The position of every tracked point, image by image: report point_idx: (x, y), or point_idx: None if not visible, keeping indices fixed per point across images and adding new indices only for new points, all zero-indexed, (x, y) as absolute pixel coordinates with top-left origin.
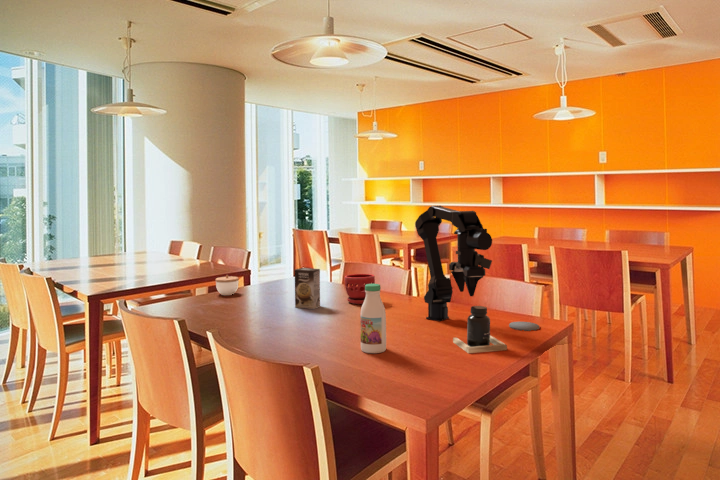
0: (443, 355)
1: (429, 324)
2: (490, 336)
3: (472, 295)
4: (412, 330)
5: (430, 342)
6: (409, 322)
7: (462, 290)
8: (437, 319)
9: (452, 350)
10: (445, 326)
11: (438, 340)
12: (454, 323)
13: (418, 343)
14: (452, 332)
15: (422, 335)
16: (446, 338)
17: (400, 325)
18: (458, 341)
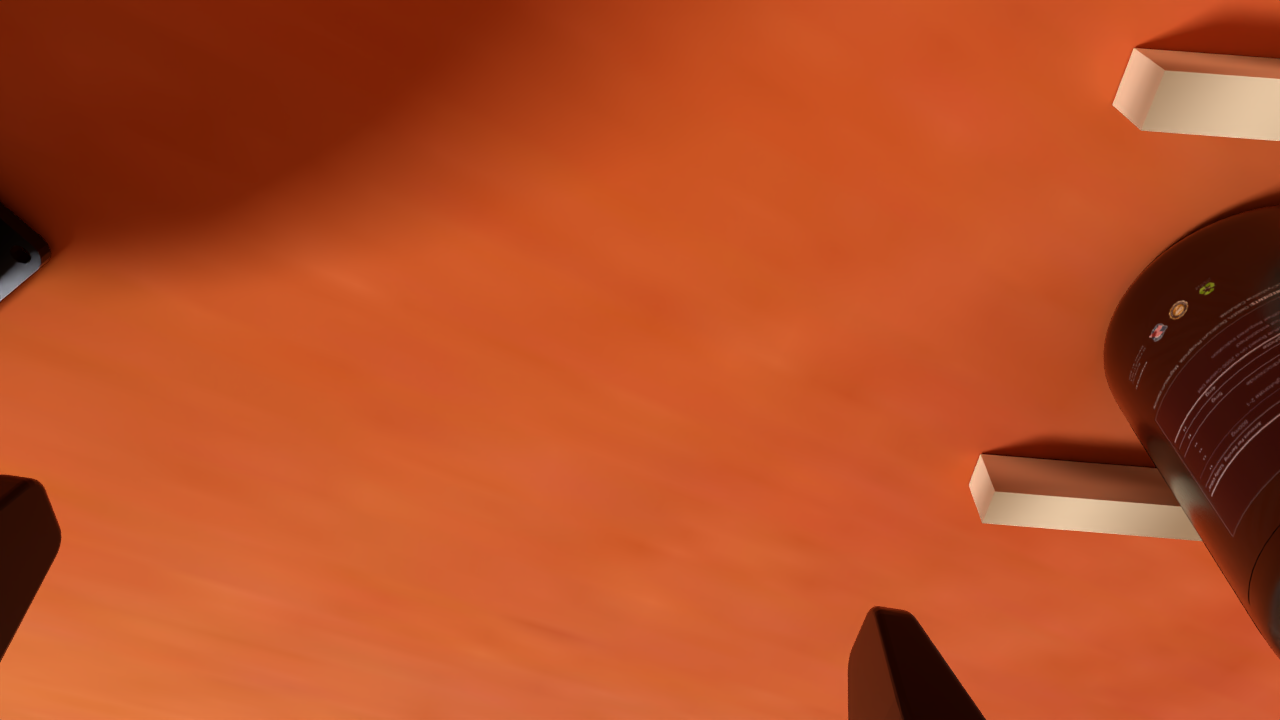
0: (1232, 674)
1: (201, 411)
2: (1246, 105)
3: (910, 647)
4: (427, 613)
5: (857, 628)
6: (108, 542)
7: (26, 530)
8: (9, 280)
9: (1177, 581)
10: (313, 289)
11: (834, 559)
12: (152, 104)
13: (836, 698)
14: (608, 332)
15: (619, 604)
16: (807, 479)
17: (230, 633)
18: (1134, 535)
